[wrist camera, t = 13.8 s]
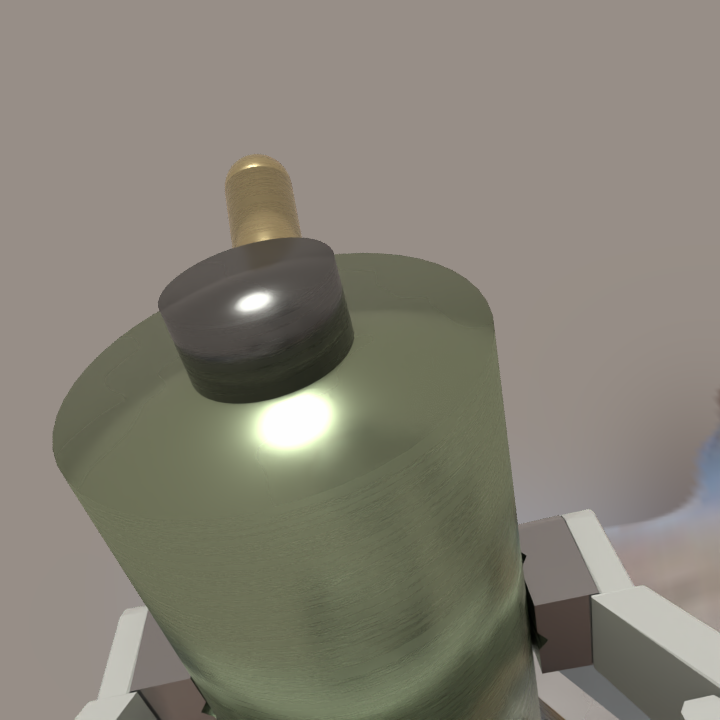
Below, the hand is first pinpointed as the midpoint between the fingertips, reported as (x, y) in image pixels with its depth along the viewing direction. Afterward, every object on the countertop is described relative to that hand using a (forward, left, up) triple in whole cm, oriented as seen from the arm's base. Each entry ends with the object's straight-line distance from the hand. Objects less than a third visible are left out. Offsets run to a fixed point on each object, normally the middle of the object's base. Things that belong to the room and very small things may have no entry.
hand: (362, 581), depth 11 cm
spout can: (+1, +1, -5) cm, 6 cm away
